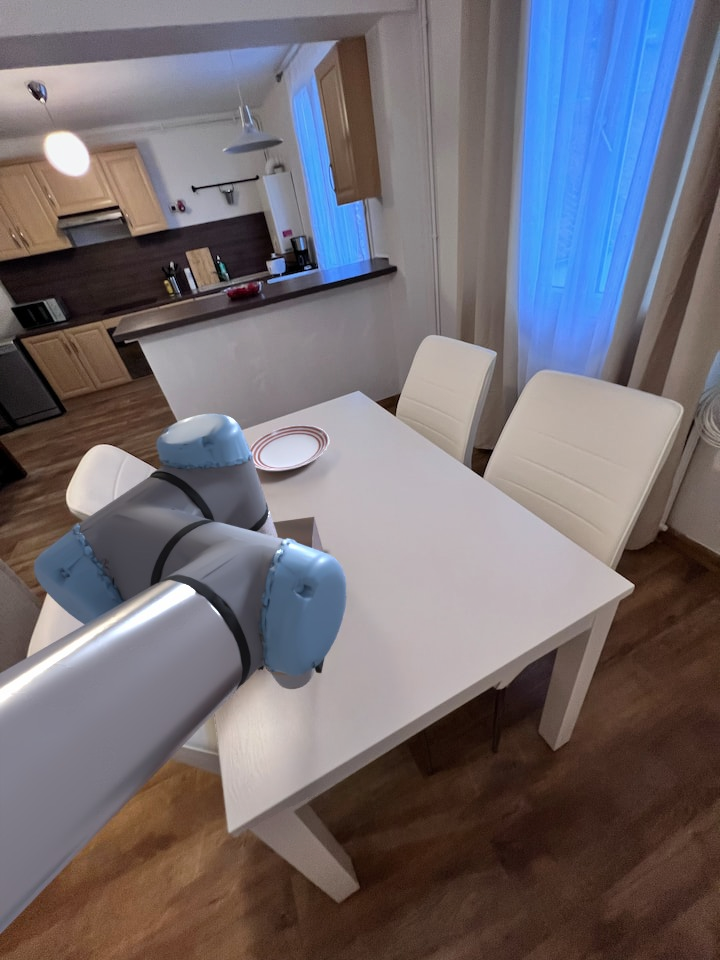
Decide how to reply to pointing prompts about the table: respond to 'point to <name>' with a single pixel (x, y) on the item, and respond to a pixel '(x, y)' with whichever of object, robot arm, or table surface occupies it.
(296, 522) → the wooden cubby box
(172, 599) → the robot arm
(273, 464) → the dinner plate
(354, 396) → the table surface
